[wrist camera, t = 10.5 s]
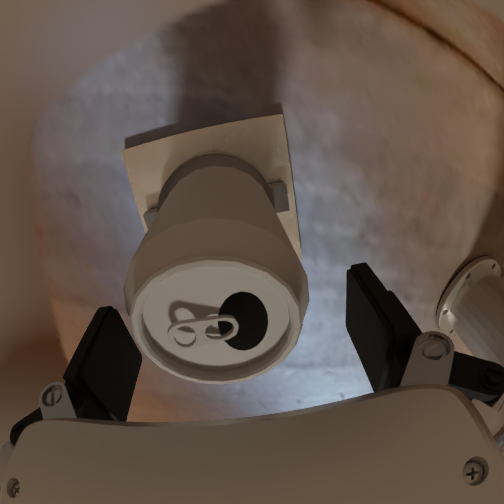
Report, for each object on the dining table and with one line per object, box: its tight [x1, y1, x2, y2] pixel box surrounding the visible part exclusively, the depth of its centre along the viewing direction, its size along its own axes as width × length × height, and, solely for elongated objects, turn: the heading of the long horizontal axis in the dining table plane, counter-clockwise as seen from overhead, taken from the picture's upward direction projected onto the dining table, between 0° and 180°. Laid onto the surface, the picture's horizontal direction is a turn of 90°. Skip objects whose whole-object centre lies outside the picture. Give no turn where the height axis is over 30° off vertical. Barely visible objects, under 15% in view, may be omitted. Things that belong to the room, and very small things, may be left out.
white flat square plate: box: [121, 114, 301, 260], centre depth 21 cm, size 12×12×2 cm
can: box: [123, 166, 309, 384], centre depth 15 cm, size 8×8×12 cm
